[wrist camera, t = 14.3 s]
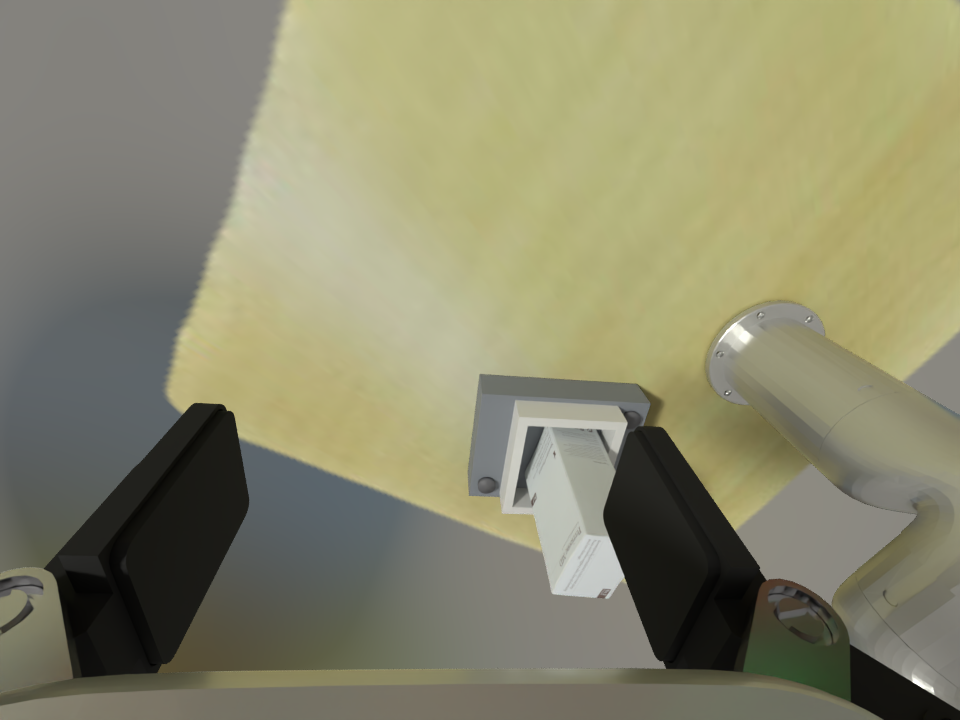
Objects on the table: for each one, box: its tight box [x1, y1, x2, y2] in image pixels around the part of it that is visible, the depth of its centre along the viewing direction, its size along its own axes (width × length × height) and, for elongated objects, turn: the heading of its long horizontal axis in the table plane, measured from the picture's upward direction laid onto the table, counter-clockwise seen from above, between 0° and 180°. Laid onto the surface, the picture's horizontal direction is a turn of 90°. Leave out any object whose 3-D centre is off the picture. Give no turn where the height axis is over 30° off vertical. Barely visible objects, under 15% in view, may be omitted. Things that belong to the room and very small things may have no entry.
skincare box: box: [525, 427, 625, 599], centre depth 44 cm, size 8×6×15 cm
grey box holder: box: [468, 374, 651, 514], centre depth 51 cm, size 18×14×7 cm
